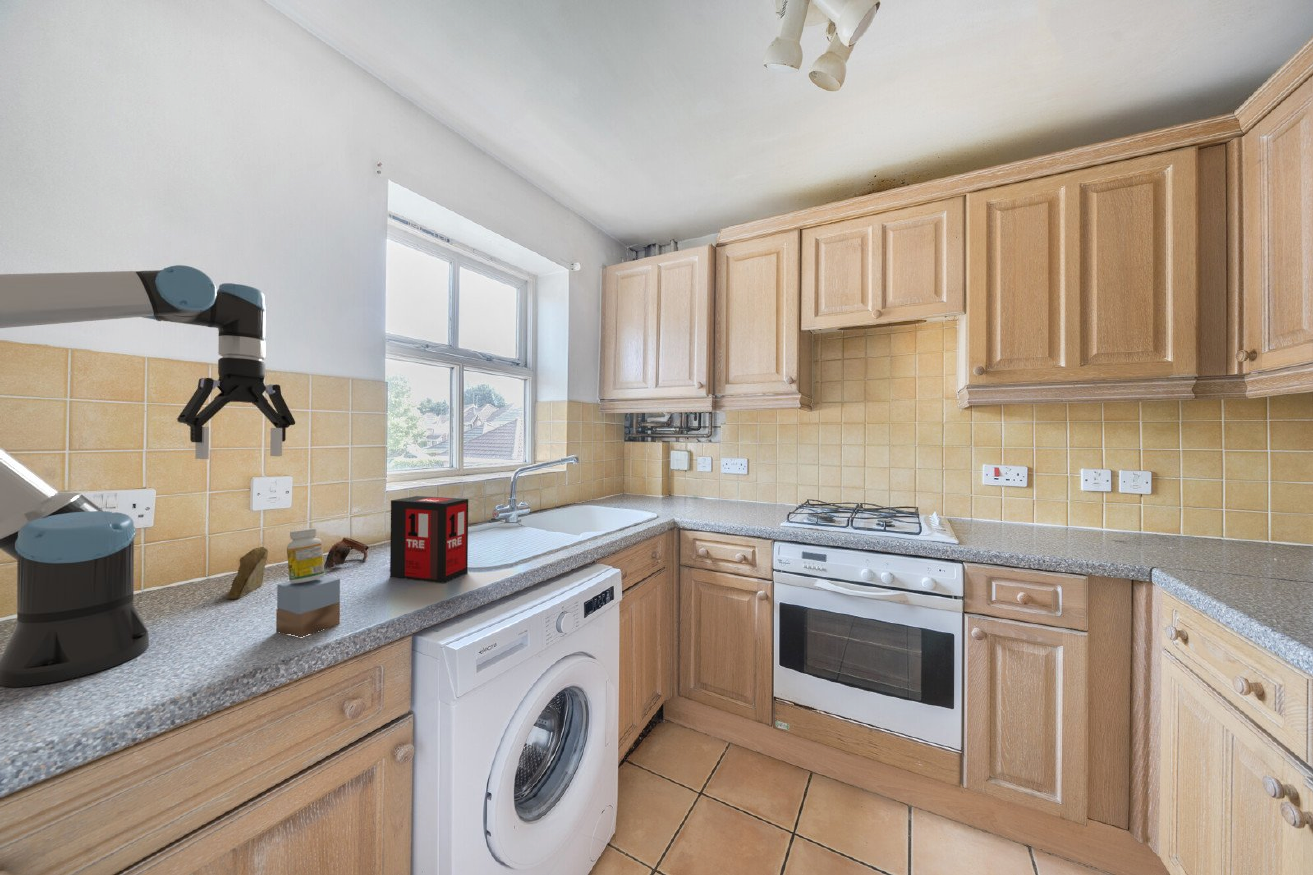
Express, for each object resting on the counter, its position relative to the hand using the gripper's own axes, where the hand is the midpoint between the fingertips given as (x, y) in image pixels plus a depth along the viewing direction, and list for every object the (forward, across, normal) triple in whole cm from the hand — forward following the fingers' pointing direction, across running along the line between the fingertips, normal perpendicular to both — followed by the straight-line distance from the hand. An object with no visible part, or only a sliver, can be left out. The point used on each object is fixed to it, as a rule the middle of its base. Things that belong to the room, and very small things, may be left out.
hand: (241, 457), depth 99 cm
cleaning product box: (+32, -30, +22) cm, 49 cm away
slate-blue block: (+27, +4, +26) cm, 38 cm away
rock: (+32, -5, -8) cm, 33 cm away
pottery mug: (+32, -30, -8) cm, 45 cm away
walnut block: (+32, +4, +26) cm, 41 cm away
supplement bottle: (+23, +4, +26) cm, 35 cm away
